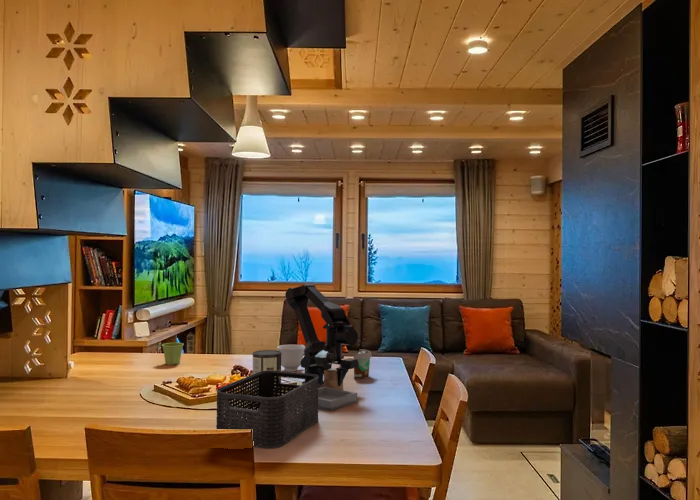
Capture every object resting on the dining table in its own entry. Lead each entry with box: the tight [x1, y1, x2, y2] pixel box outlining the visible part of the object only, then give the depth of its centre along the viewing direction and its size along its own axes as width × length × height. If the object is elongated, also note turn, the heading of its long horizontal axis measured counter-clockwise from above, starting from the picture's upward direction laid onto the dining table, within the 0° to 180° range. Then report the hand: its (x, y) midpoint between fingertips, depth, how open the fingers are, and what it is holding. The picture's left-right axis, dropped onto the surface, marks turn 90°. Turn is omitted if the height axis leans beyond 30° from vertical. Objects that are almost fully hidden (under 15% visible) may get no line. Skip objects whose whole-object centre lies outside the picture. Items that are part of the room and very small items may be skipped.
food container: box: [353, 348, 373, 380], centre depth 225 cm, size 12×6×10 cm, turn 168°
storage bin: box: [215, 370, 319, 450], centre depth 154 cm, size 29×19×13 cm
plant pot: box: [161, 342, 185, 366], centre depth 247 cm, size 9×9×9 cm
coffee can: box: [252, 349, 282, 394], centre depth 197 cm, size 10×10×14 cm
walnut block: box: [323, 367, 344, 390], centre depth 202 cm, size 5×5×7 cm
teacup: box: [276, 343, 306, 372], centre depth 237 cm, size 12×15×10 cm
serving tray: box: [301, 386, 358, 412], centre depth 183 cm, size 14×14×3 cm
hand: (333, 385), depth 202 cm, fingers closed on walnut block, 5 cm apart
